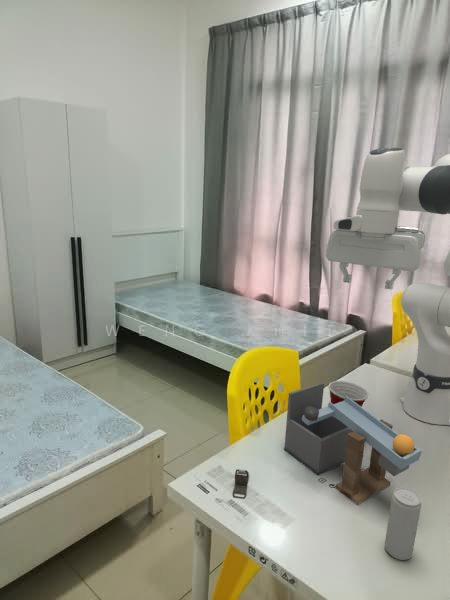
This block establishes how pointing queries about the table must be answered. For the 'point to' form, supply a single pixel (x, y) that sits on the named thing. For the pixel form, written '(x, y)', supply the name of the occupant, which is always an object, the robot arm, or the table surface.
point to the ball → (403, 444)
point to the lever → (366, 432)
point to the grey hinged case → (241, 483)
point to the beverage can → (402, 523)
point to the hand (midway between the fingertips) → (367, 285)
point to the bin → (314, 432)
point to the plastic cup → (347, 392)
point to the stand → (357, 481)
